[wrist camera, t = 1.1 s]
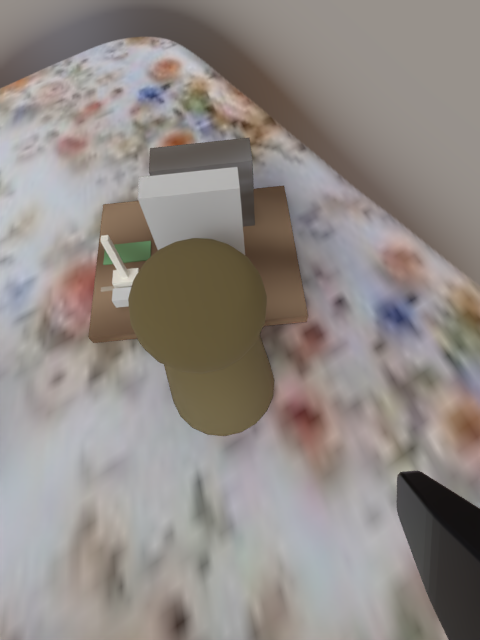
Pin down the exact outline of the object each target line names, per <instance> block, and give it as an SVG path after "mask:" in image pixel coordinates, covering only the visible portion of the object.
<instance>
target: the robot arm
mask: <svg viewBox="0 0 480 640" xmlns="http://www.w3.org/2000/svg"><path fill="white" fill-rule="evenodd" d="M397 512H398V516H399V519H400V522H401V525H402V527H403V530H404V533H405V535H406V538H407V541H408V544H409V546H410V549H411V552H412V554H413V557H414V560H415V563H416V565H417V568H418V571H419V573H420V576H421V579H422V582H423V584H424V587H425V589H426V592H427V594H428V597H429V599H430V601H431V604H432V606H433V608H434V610H435V612H436V614H437V616H438V618H439V621H440V623H441V625H442V627H443V629H444V631H445V633H446V635H447V637H448V639H449V640H480V508H478V507H476V506H475V505H473V504H472V503H470V502H468V501H467V500H465V499H464V498H462V497H460V496H459V495H457V494H456V493H454V492H452V491H451V490H449V489H448V488H446V487H445V486H443V485H441V484H440V483H438V482H437V481H435V480H433V479H432V478H430V477H429V476H427V475H425V474H424V473H422V472H420V471H407V472H400V473H399V474H398V477H397Z"/></svg>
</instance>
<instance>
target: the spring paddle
mask: <svg viewBox="0 0 480 640" xmlns="http://www.w3.org/2000/svg"><path fill="white" fill-rule="evenodd" d="M138 201H139V203H140V206H141V208H142V211H143V213H144V216H145V219H146V221H147V224H148V226H149V229H150V231H151V234H152V236H153V239H154V242H155V244H156V247H157V249H158V250H159V249H161V248H164V247H166V246H168V245H170V244H172V243H174V242H177V241H181V240H186V239H191V238H204V239H213V240H217V241H220V242H223V243H226V244H229V245H230V246H232V247H234V248H235V249H237V250H238V251H240V252H241V253H242V254H244V255H245V247H244V235H243V223H242V210H241V198H240V186H239V177H238V168H237V167H231V168H221V169H212V170H202V171H193V172H183V173H174V174H164V175H155V176H145V177H139V187H138ZM130 290H131V287H125V288H115V289H113V293H112V302H113V304H114V305H115V307H116V308H118V307H128V306H129V302H128V298H129V294H130Z"/></svg>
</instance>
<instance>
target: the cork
mask: <svg viewBox="0 0 480 640" xmlns="http://www.w3.org/2000/svg"><path fill="white" fill-rule="evenodd" d="M128 302H129V313H130V322H131V326H132V328H133V330H134V332H135V334H136V336H137V338H138V340H139V342H140V344H141V345H142V346H143V348H144V349H145V350H146V351H147V352H148V353H149V354H151V355H152V356H153V357H154V358H155V359H156V360H157V361H158V362H160V363H162V364H164V366H165V370H166V374H167V378H168V382H169V386H170V390H171V394H172V398H173V401H174V404H175V406H176V408H177V410H178V412H179V414H180V416H181V417H182V418H183V419H184V420H185V421H186V422H187V423H188V424H189V425H190V426H191V427H192V428H194V429H197V430H199V431H201V432H203V433H205V434H208V435H218V436H227V435H231V434H236V433H240V432H242V431H244V430H246V429H247V428H249V427H251V426H252V425H254V424H256V423H257V422H258V420H259V419H260V418H261V417H262V416H263V415H264V414H265V412H266V411H267V409H268V407H269V404H270V402H271V400H272V397H273V390H274V378H273V374H272V370H271V366H270V363H269V360H268V357H267V355H266V352H265V349H264V346H263V343H262V340H261V338H260V335H259V334H260V332H261V330H262V328H263V326H264V324H265V317H266V306H267V295H266V291H265V288H264V284H263V281H262V278H261V276H260V274H259V272H258V270H257V269H256V268H255V266H254V265H253V264H252V262H251V261H250V259H249V258H248V257H247V256H245V255H244V254H242V253H241V252H240V251H238V250H237V249H235V248H234V247H232V246H230V245H229V244H226V243H223V242H220V241H217V240H213V239H204V238H191V239H186V240H181V241H177V242H174V243H172V244H170V245H168V246H166V247H164V248H161V249H159V250H158V251H157V252H156V253H155V254H153V255H152V256H151V257H150V258H149V259H148V260H146V261H145V263H144V264H143V266H142V267H141V269H140V270H139V272H138V273H137V275H136V277H135V279H134V280H133V283H132V287H131V290H130V294H129V298H128Z"/></svg>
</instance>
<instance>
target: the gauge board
mask: <svg viewBox="0 0 480 640" xmlns="http://www.w3.org/2000/svg"><path fill="white" fill-rule="evenodd" d="M231 167H237V168H238V177H239V186H240V198H241V210H242V223H243V235H244V247H245V256H247V257H248V258H249V259H250V261H251V262H252V264H253V265H254V266H255V268H256V269H257V270H258V272H259V274H260V276H261V278H262V281H263V284H264V288H265V291H266V295H267V306H266V317H265V324H264V326H269V325H279V324H289V323H299V322H307V318H308V313H307V308H306V303H305V297H304V292H303V286H302V281H301V275H300V270H299V264H298V259H297V254H296V248H295V243H294V237H293V232H292V226H291V221H290V215H289V210H288V204H287V199H286V194H285V188H284V186H276V187H267V188H257V189H253V164H252V154H251V147H250V140H249V138H242V139H233V140H224V141H214V142H205V143H196V144H186V145H177V146H167V147H158V148H150V163H149V173H150V176H155V175H164V174H174V173H183V172H193V171H202V170H212V169H221V168H231ZM103 235H109V237H110V239H111V241H112V243H113V245H114V246H115V248H116V250H117V252H118V254H119V256H120V258H121V259H122V261H123V263H124V265H125V267H126V269H131V268H139V270H140V269H141V267H142V266H143V264H144V263H145V261H146V260H148V259H149V258H150V257H151V256H152V255H153V254H155V253H156V252H157V251H158V249H157V247H156V244H155V242H154V239H153V236H152V234H151V231H150V229H149V226H148V224H147V221H146V219H145V216H144V213H143V211H142V208H141V206H140V203H139V201H133V202H123V203H114V204H104V205H103V212H102V221H101V230H100V239H99V248H98V257H97V266H96V275H95V284H94V293H93V302H92V311H91V320H90V328H89V339H90V340H91V341H92V342H93V343H97V342H107V341H118V340H128V339H138V338H137V336H136V334H135V332H134V330H133V328H132V326H131V322H130V313H129V306H128V307H118V308H116V307H115V305H114V304H113V302H112V293H113V289H115V288H114V286H113V284H112V278H113V270H117V269H116V268H115V266H114V264H113V262H112V261H111V259H110V257H109V255H108V254H107V252H106V250H105V248H104V247H103V245H102V243H101V242H100V241H101V236H103Z"/></svg>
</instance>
